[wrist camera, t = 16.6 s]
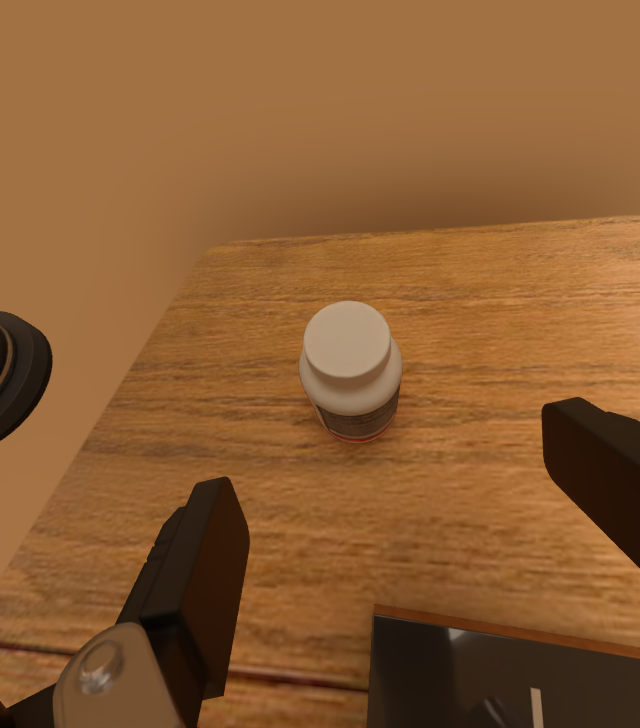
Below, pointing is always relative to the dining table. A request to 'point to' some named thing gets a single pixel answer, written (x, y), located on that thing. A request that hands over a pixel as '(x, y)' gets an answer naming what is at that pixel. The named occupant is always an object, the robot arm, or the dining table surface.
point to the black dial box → (495, 676)
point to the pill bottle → (351, 371)
